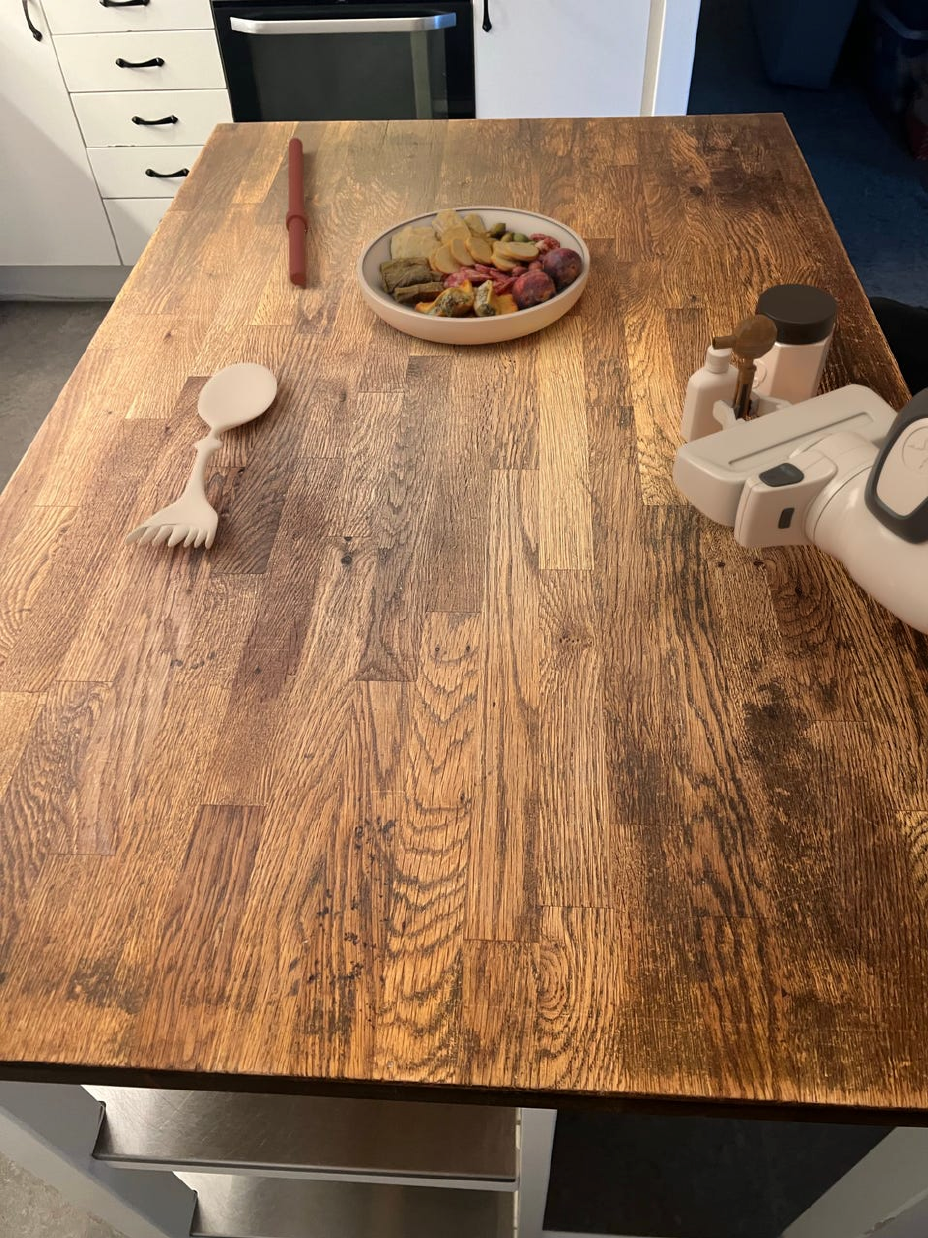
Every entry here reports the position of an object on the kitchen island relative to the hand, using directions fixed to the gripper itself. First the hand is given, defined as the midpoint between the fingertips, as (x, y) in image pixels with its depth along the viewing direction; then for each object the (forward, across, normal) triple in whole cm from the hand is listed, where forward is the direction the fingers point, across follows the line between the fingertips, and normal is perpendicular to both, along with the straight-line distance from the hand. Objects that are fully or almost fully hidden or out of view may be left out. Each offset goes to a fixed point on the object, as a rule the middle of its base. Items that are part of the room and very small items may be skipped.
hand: (732, 401), depth 87 cm
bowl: (+50, +2, +13) cm, 52 cm away
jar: (+12, -17, +13) cm, 25 cm away
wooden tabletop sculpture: (-1, 0, +11) cm, 11 cm away
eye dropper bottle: (+10, -7, +13) cm, 18 cm away
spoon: (+32, +43, +13) cm, 55 cm away
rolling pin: (+85, +15, +13) cm, 87 cm away
